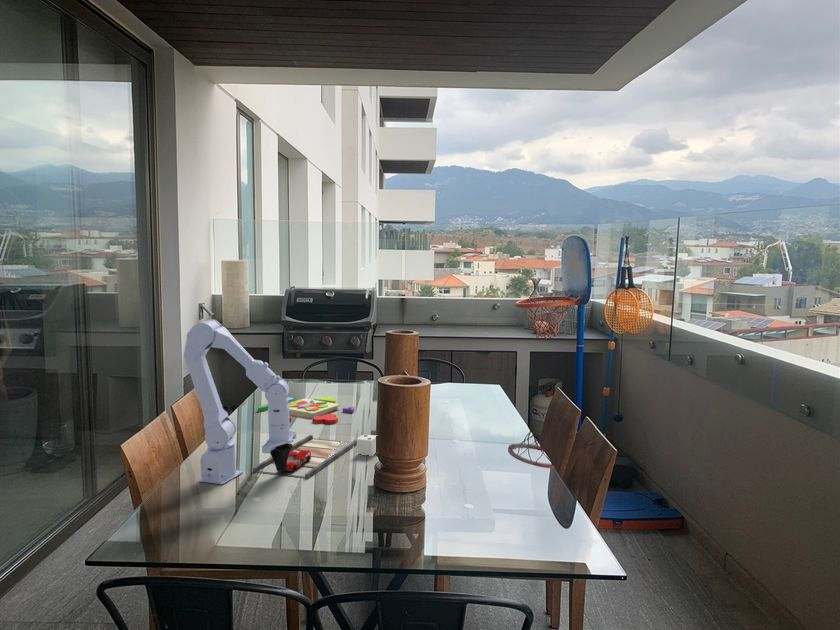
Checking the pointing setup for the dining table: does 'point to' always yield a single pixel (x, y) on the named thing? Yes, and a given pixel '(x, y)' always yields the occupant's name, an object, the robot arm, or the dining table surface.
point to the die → (366, 445)
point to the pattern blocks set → (313, 409)
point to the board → (312, 455)
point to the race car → (297, 459)
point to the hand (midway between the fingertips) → (281, 470)
